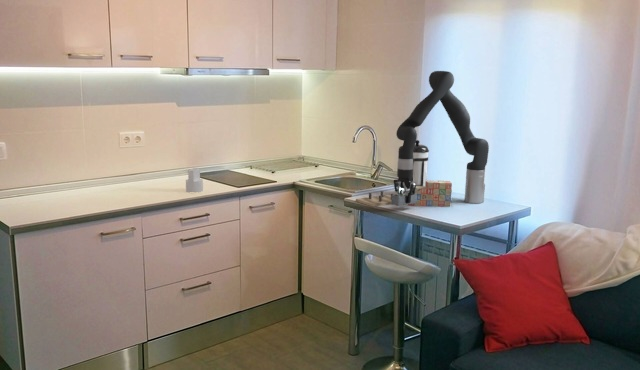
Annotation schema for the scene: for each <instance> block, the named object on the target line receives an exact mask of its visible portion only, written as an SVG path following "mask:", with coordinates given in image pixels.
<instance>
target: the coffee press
mask: <svg viewBox="0 0 640 370" xmlns="http://www.w3.org/2000/svg"><path fill="white" fill-rule="evenodd" d="M429 152H430V150H429V148H428V146H426V145H425V144H420V140H419V139H416V143H415V146H414V149H413V177H412V179H411V180H412V183H416V186H425V182H426V180H428V179H427V178H428V161H429ZM402 193H406V192H405V190H404V189H403V192H402Z"/></svg>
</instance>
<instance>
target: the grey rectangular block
mask: <svg viewBox="0 0 640 370" xmlns="http://www.w3.org/2000/svg"><path fill="white" fill-rule="evenodd" d="M408 193H409V192H408ZM406 196H407V195H406V192H405V193H403V192H402V194H398V193H397V194H394V195H392V202H391V204H390V205H393V206H396V207H402V206H409V205H408V204H414V203H417V194H415V193H414V195H411V202H410V203H406Z"/></svg>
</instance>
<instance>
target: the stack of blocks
mask: <svg viewBox="0 0 640 370" xmlns="http://www.w3.org/2000/svg"><path fill="white" fill-rule="evenodd" d="M452 185H453V184H452V182H451V181H450V180H429V179H427V180H426V182H425V186H416V189H415V194H417V203H414V204H408V205H407V206H413V207H417V206H418V207H441V208H442V207H445V208H450V207H451V201H452V191H453V190H452V187H453V186H452ZM408 189H409V188H408ZM408 192H409V191H408Z"/></svg>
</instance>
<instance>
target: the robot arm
mask: <svg viewBox="0 0 640 370" xmlns="http://www.w3.org/2000/svg"><path fill="white" fill-rule="evenodd" d="M454 82H455V76H454V74H453V73H452V72H451V71H447V70H434V71H432V72H431V73H430V74H429V77H428V84H429V86H430V88H431V90H432V91H431V92H430V93H429V94H428V95H427V96H426V97H425V98H423V99H422V100H421V101H419V103H418V104H416V106H415V107H414V108H413V110H412V112H411V113H410V115H409V116H408V117H407V118H406V119H404V121H402V123H400V125H399V126H398V127H397V130H396V138H397V139H398V140H400V141H403V143H402V145H401V146H399V147H398V157H397V168H396V169H397V171H396V173H397V174H396V177H397V178H396V179H394V180H393V186H394V192H396V193H397V194H402V193H403V192H404V190H405V193H406V195H407V196H406V203H410V202H411V195H414V193H415V189H416V183H412V180H411V179H412V177H413V149H414V146H415V144H416V140H418V139H417V138H418V134H417V130H416V128H417V127H420V126H422V124H423V123H424V121H425V120H426V119H427V116H428V115H429V114H430V112H431V111H432V110H433V108H435V106H436V105H437V104H438V103H439V101H440V102H441V105H442V107H443V108H444V110H445V112H446V114H447V117H448V118H449V119H450V120H449V121H450V122H451V123H452V125H453V126H454V129H455V130H456V132H457V134H458V135H459V136H458V137H459V139H460V141H461V143H462V146H463V149H464V150H465V152H466V154H468V155H469V156H473V158H472V160H471V161H470V162H467V163H466V170H465V171H466V173H465V175H466V176H465V188H464V202H466V203H470V204H482V203H484V201H485V191H486V188H485V187H486V184H485V177H486V176H485V172H486V166H487V163H488V159H489V158H488V157H489V149H490V145H489V142H488V141H487V140H486V139H485V138H479V137H476V136H475V135H474V134H473V132H472V130H471V116H470V113H469V111H468V109H467V107H466V106H465V104H464V103H463V102H462V101H461V100H460V99H459V98H458V97H457V96H455V94H454V93H453V92H452V91H451V88H452V87H453V85H454ZM408 188H409V189H408ZM408 191H409V193H408Z"/></svg>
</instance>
